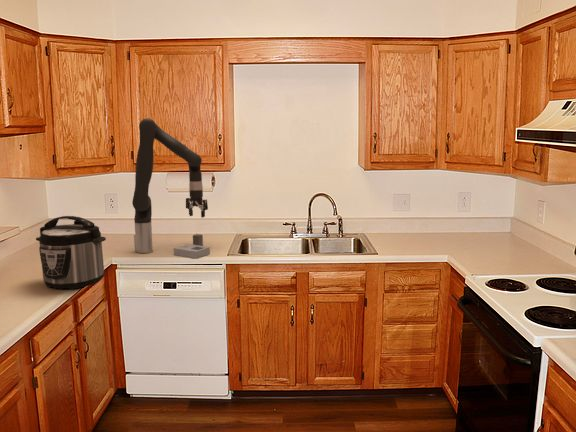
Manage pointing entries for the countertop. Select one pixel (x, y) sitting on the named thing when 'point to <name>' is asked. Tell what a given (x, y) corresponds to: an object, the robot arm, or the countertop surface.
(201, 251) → the socket plate
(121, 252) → the countertop surface
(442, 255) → the countertop surface
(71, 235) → the pressure cooker
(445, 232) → the countertop surface
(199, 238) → the grey square peg
